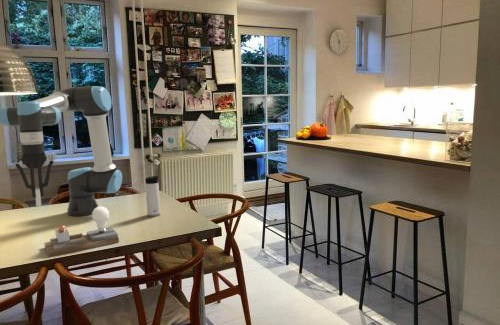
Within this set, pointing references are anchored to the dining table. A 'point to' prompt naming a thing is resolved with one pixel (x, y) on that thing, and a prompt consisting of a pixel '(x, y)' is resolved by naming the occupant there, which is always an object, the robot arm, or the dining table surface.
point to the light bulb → (100, 217)
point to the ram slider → (62, 235)
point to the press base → (82, 242)
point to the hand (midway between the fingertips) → (38, 205)
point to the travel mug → (152, 196)
